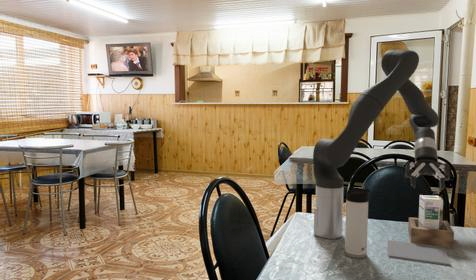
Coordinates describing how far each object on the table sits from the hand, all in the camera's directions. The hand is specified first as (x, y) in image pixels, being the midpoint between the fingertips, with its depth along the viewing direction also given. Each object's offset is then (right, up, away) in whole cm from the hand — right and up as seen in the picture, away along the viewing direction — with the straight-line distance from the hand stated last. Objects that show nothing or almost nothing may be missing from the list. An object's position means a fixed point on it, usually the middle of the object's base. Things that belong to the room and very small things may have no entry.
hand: (428, 187), depth 126 cm
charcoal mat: (-13, -17, -17) cm, 28 cm away
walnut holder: (-3, -16, -6) cm, 18 cm away
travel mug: (-32, -18, -18) cm, 41 cm away
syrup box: (-3, -16, -6) cm, 18 cm away
